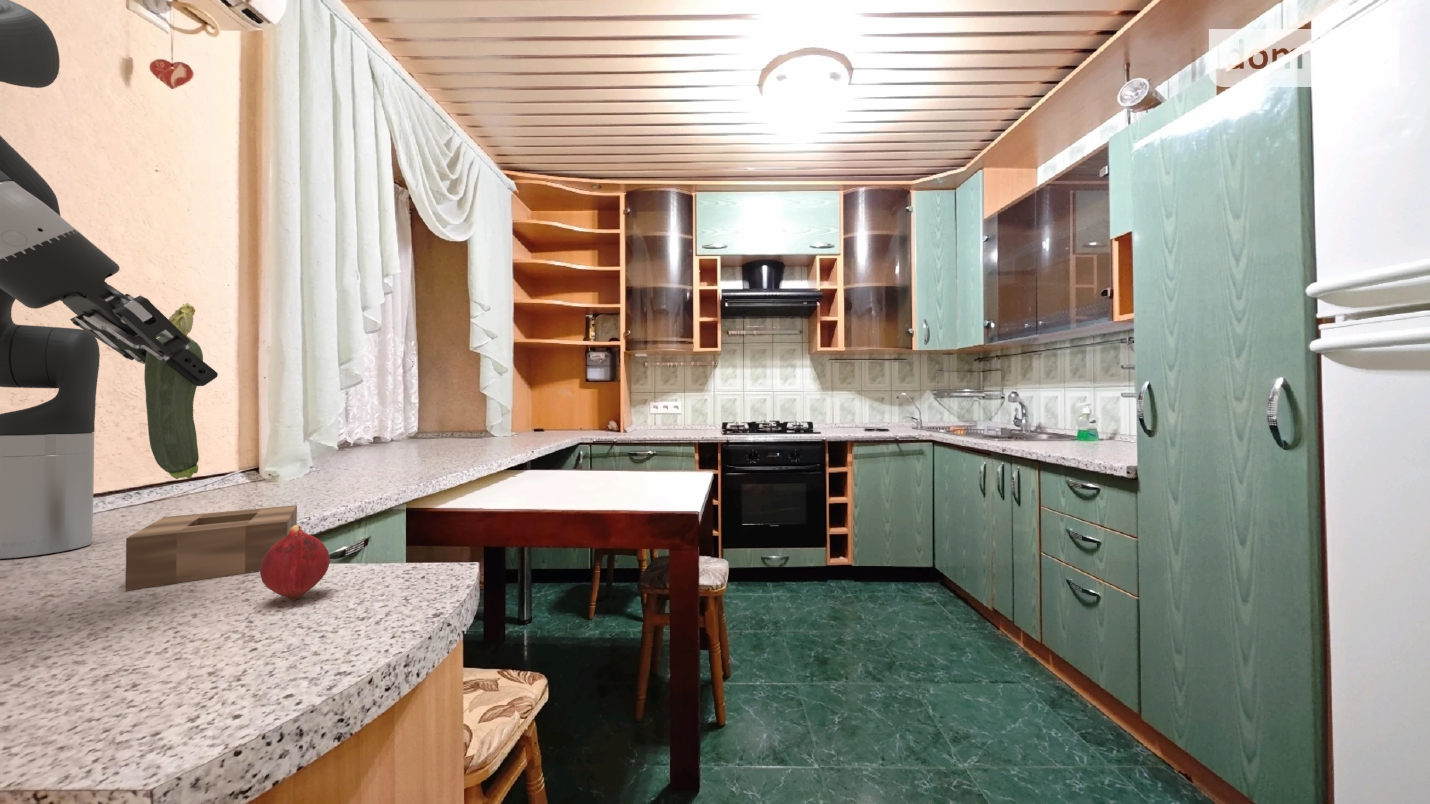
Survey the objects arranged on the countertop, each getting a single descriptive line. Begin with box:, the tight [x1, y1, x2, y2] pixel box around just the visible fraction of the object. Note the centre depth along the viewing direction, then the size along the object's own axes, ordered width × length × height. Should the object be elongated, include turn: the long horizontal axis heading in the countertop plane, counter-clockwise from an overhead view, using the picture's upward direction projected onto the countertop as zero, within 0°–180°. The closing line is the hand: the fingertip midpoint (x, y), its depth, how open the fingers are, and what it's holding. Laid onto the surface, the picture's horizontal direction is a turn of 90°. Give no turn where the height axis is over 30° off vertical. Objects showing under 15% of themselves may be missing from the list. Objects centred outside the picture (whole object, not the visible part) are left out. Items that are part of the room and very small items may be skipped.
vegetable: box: [143, 302, 204, 480], centre depth 55 cm, size 4×4×20 cm
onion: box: [259, 524, 331, 600], centre depth 54 cm, size 6×6×8 cm
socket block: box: [124, 504, 298, 591], centre depth 66 cm, size 14×14×6 cm
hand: (198, 381), depth 56 cm, fingers closed on vegetable, 4 cm apart
